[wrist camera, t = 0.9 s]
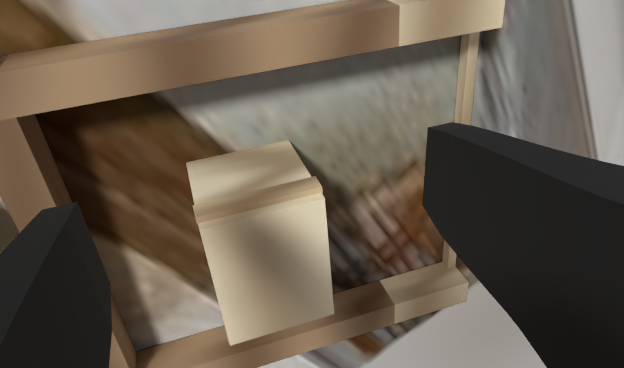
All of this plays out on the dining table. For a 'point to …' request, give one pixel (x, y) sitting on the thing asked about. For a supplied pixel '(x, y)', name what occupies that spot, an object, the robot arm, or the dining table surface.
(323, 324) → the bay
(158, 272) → the dining table surface
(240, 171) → the beige cube
